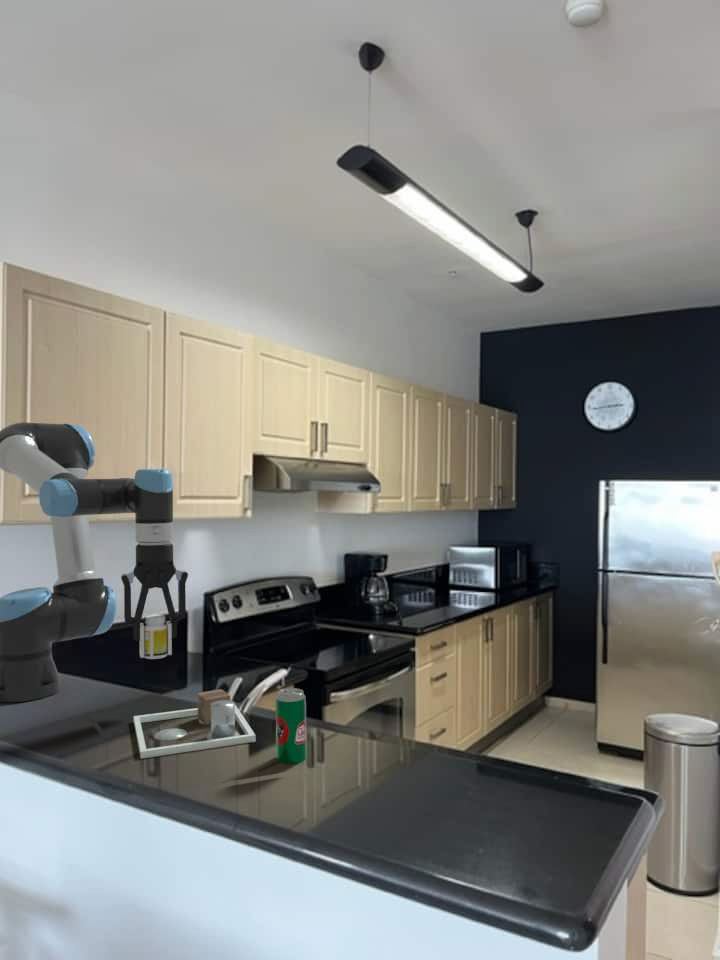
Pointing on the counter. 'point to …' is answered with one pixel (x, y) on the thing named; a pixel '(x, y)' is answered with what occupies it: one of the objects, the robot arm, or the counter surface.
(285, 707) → the soda can
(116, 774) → the counter surface
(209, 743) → the collection tray
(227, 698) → the walnut block
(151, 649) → the supplement bottle
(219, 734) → the translucent grey cylinder
